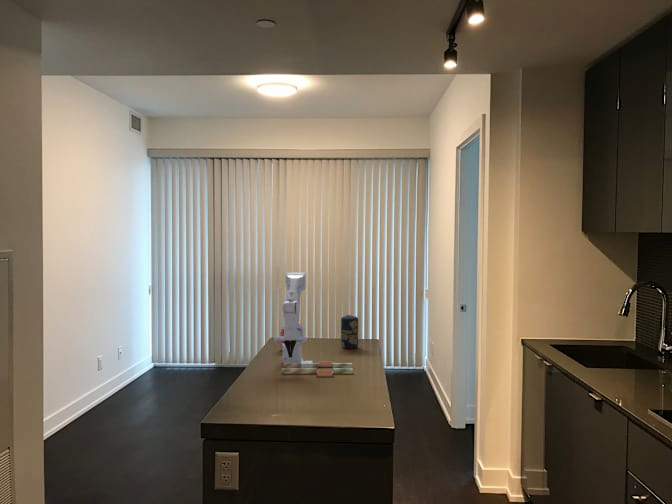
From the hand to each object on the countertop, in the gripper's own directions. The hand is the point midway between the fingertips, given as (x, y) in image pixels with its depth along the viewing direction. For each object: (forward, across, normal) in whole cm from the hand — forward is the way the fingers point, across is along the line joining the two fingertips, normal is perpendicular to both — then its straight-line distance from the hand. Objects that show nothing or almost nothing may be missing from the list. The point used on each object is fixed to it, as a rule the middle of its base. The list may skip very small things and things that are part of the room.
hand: (290, 357), depth 226 cm
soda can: (+6, -6, +40) cm, 41 cm away
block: (+6, +8, 0) cm, 10 cm away
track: (+6, +12, 0) cm, 14 cm away
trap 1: (+6, +16, +8) cm, 19 cm away
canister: (+6, +28, +46) cm, 55 cm away
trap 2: (+6, +16, -8) cm, 19 cm away
